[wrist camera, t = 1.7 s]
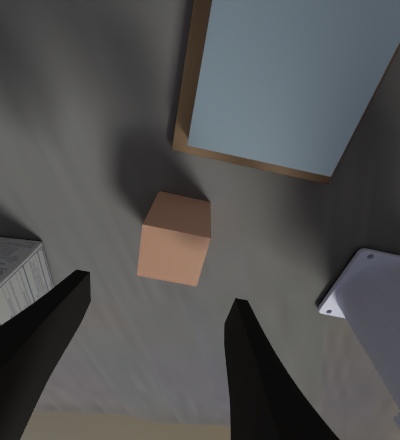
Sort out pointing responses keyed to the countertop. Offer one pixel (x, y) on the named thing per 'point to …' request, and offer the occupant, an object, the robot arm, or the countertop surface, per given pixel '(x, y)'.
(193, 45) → the lower tile
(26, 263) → the medicine box
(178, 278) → the terracotta block
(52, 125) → the countertop surface
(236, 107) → the upper tile
